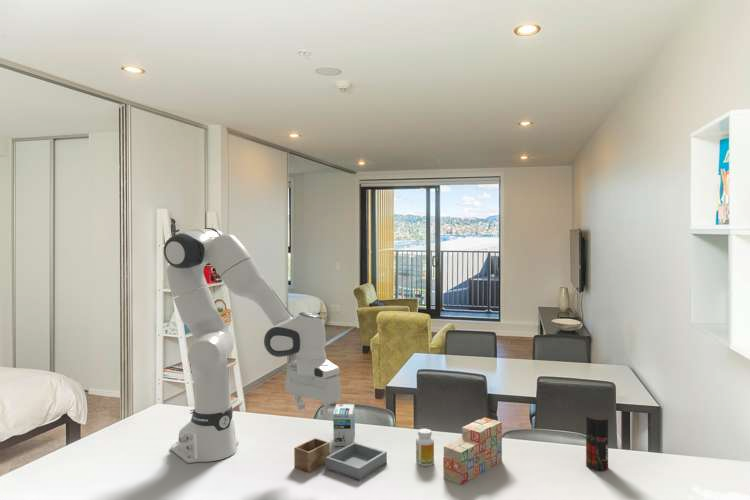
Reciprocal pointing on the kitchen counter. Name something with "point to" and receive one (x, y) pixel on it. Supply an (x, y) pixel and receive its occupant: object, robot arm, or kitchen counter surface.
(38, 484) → the kitchen counter surface
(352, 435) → the light bulb box
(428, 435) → the supplement bottle
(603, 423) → the deodorant
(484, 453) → the stack of blocks
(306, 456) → the small crate
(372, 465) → the grey square tray
